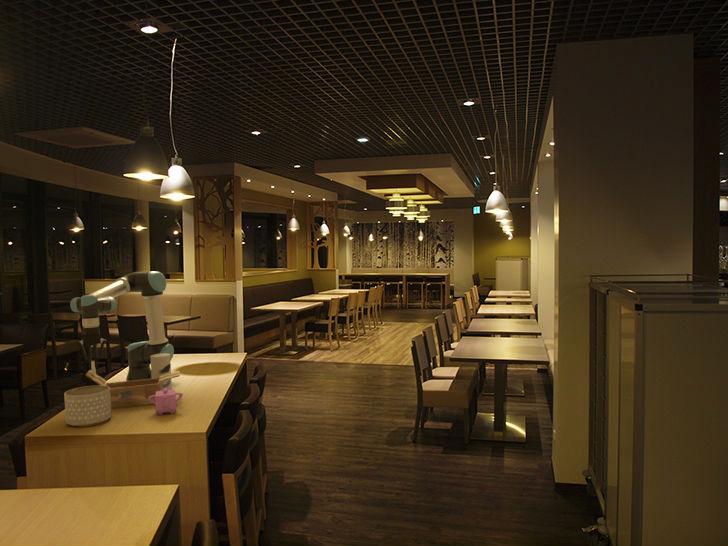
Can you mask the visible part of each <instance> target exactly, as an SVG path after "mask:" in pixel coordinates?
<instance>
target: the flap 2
mask: <svg viewBox="0 0 728 546" xmlns="http://www.w3.org/2000/svg"><path fill="white" fill-rule="evenodd" d="M180 376H181V371H180V370H177V371H174V372H173V371H172V372H171V373H169V374H166V375H162V376H160V380H159V382H161V381H165V380H168V379H171V380H172V379H174V378H175V379H176V378H177V377H178V378H179V377H180Z"/></svg>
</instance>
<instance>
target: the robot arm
mask: <svg viewBox="0 0 728 546" xmlns="http://www.w3.org/2000/svg"><path fill="white" fill-rule="evenodd" d="M166 289H167V279H166V277H165V275H164V274H163V273H162V272H160V271H154V270H152V271H134V272H130V273H129V274H125V275H122V276H121V277H118V278H117V279H116V280H115V282H113V283H112V282H111V284H108V285H106V286H104V287H102V288H99V289H98V290H95V291H93V292H91V293H89V294H85V295H82V296H81V297H74V298H72V299H71V300H70V304H69V305H70V309H71V311H72V312H74V313H81V319H82V321H81V324H82V337H81V340H79V341H78V342H77V345H78V346H79V348H80V351H81V353H82V356H83V361H85V362H88V368H89V369H91V371H92V375H95V374H97V371H96V368H98V366H99V364H98V362H99V360H101V359H102V356H103V352H104V346H105V344H106V342H107V339H105V338H102V336H101V330H100V314H101V313H110V312H112V311H114V310H115V309H116V307H117V301H116V299H115V298H116V297H119V296H121V295H127V294H129V293H140V294H141V295H140V296H141V297H142V298H143V299H144V303H145V312H146V323H147V330H148V338H149V339H148V340H144V341H138V342H133V343H130V344H128V346H127V360H128V361H127V362H128V372H127V375H126V379H125V381H133V380H144V379H152V376H151V357H150V356H151V355H155V354H163V353H166V354H170V362H171V361H172V359H173V357H174V353H175V349H174V346H173V344H171V343H170V342H169V339H168V338H167V337H166V333H165V325H164V324H165V323H164V313H163V307H162V296H163V294H164V291H165V290H166ZM99 343H100V348H99V353H98V344H99ZM84 344H85V345H86V346H87V351H86V349H85V346H84ZM92 347H93V356H92Z"/></svg>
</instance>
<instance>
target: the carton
mask: <svg viewBox="0 0 728 546" xmlns="http://www.w3.org/2000/svg"><path fill="white" fill-rule="evenodd" d="M159 380H160V378H154V379H144V380H133V381H126V380H123V381H115V382H106V383H105V385H104V386H109V387H110V397H111V410H113V409H114V410H115V409H123V408H133V407H142V406H149V405H150V406H152V405H154V404H153V403H151V402H150V401H149V400H148V397H150V396H152V395H156V391H161V382H159ZM152 400H153V401H154V402H155V397H153V398H152Z"/></svg>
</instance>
